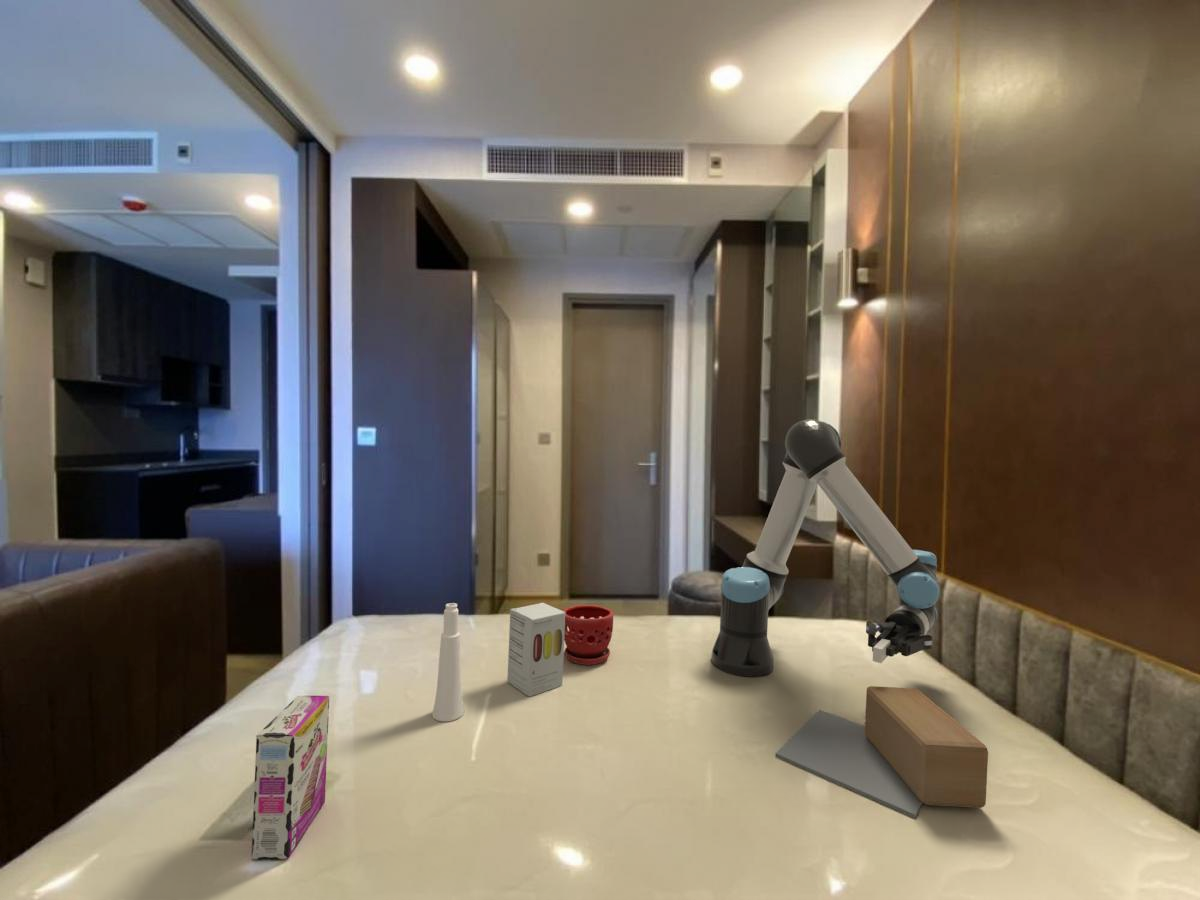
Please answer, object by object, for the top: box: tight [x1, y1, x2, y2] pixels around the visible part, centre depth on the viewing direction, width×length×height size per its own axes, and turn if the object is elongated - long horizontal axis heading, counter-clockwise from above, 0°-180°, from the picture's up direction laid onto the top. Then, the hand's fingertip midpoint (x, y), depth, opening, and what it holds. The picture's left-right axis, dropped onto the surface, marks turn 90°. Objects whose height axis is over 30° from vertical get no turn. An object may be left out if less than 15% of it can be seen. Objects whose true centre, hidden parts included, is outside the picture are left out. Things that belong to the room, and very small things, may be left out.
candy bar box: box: [250, 695, 330, 861], centre depth 73 cm, size 11×5×16 cm, turn 5°
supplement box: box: [506, 602, 565, 698], centre depth 119 cm, size 10×9×17 cm
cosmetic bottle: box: [432, 602, 465, 723], centre depth 105 cm, size 6×6×22 cm
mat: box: [774, 709, 923, 819], centre depth 95 cm, size 22×22×1 cm
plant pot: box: [562, 604, 614, 666], centre depth 135 cm, size 13×13×12 cm
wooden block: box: [864, 685, 989, 809], centre depth 91 cm, size 10×10×20 cm
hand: (877, 655), depth 101 cm, fingers closed
